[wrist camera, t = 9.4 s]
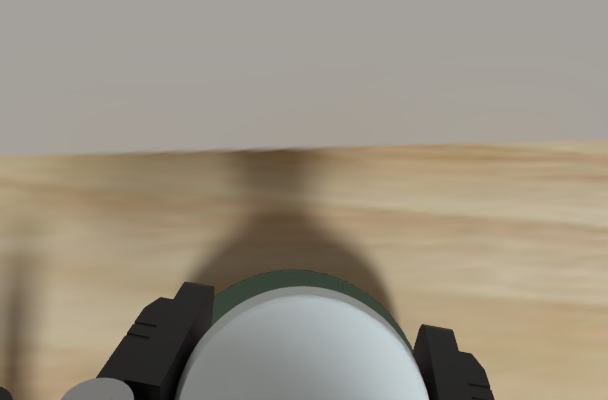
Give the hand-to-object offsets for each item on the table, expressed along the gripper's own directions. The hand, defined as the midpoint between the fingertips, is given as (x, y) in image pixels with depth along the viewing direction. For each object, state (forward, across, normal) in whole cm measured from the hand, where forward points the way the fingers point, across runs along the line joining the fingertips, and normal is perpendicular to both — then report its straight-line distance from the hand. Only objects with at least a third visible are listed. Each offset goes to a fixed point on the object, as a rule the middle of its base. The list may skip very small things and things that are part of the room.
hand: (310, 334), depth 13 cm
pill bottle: (+2, 0, +5) cm, 5 cm away
